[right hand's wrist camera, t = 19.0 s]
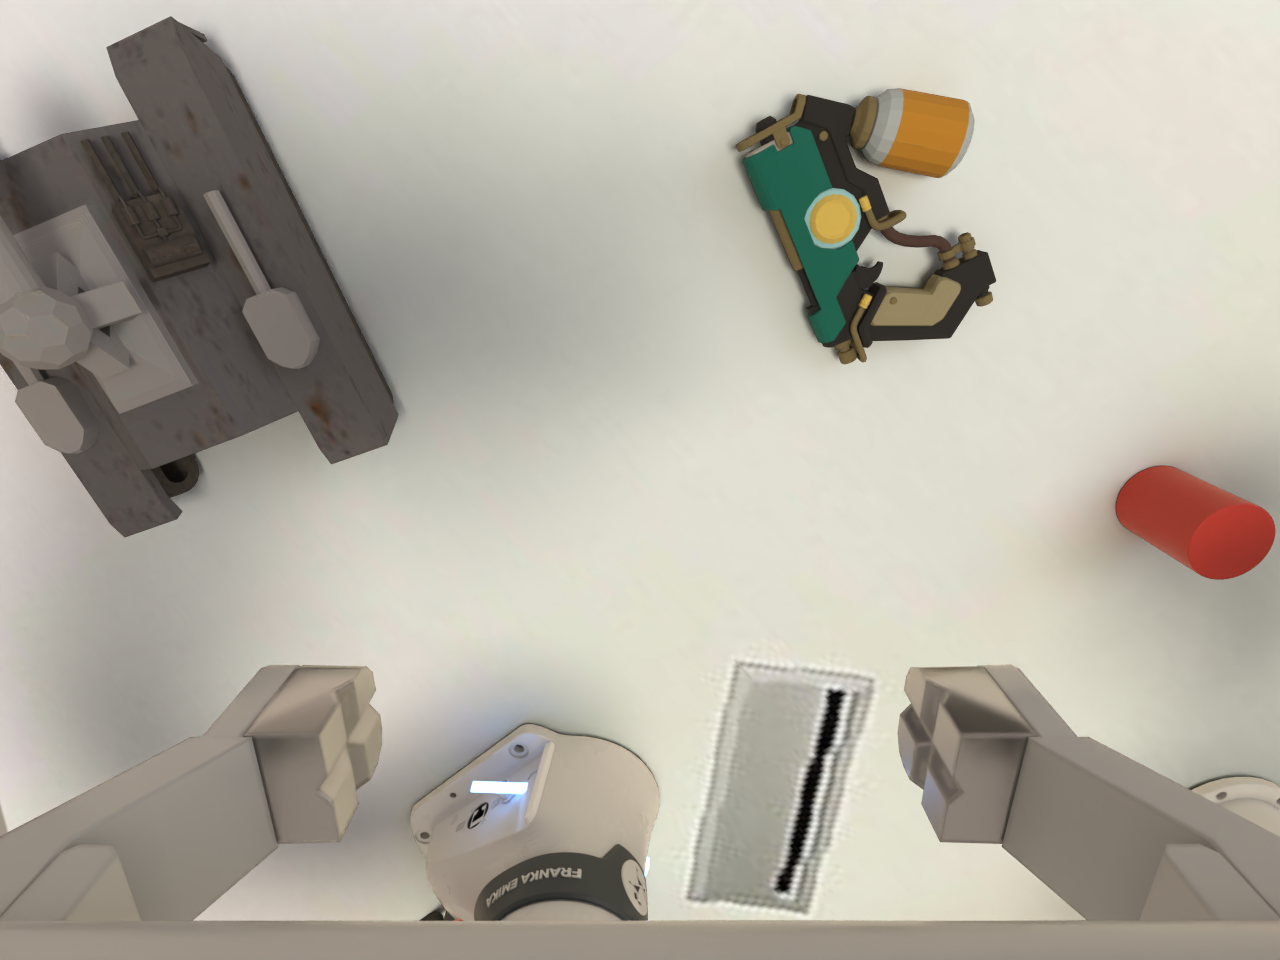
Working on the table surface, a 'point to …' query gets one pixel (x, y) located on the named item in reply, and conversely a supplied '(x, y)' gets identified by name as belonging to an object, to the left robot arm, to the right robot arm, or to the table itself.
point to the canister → (1195, 522)
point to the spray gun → (865, 213)
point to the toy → (172, 290)
